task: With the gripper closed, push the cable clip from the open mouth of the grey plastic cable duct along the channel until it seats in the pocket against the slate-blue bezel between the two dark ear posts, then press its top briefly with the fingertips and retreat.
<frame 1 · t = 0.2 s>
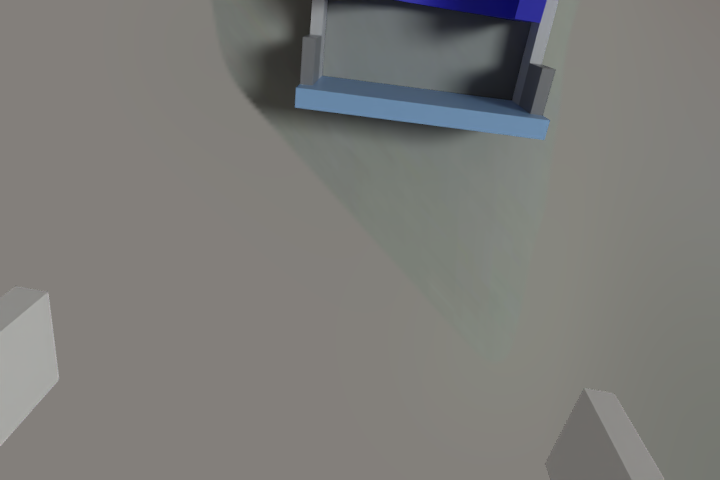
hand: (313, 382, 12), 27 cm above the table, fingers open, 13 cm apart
duct: (427, 24, 33), on the table
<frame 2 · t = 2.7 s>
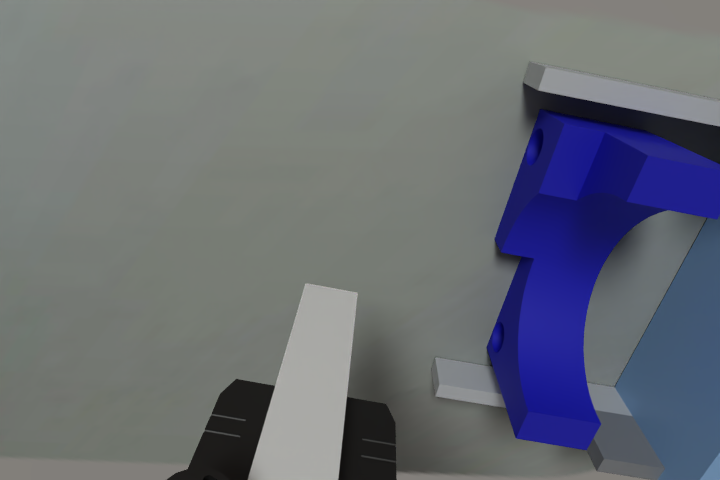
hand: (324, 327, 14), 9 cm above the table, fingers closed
duct: (587, 259, 22), on the table
cable clip: (539, 244, 23), on the table
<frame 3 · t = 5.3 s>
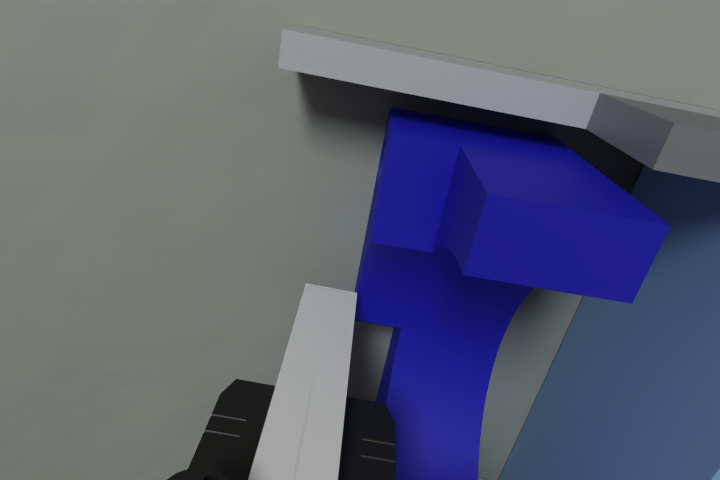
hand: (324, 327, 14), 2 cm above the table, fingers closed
duct: (434, 317, 16), on the table
cable clip: (422, 300, 16), on the table, touching gripper
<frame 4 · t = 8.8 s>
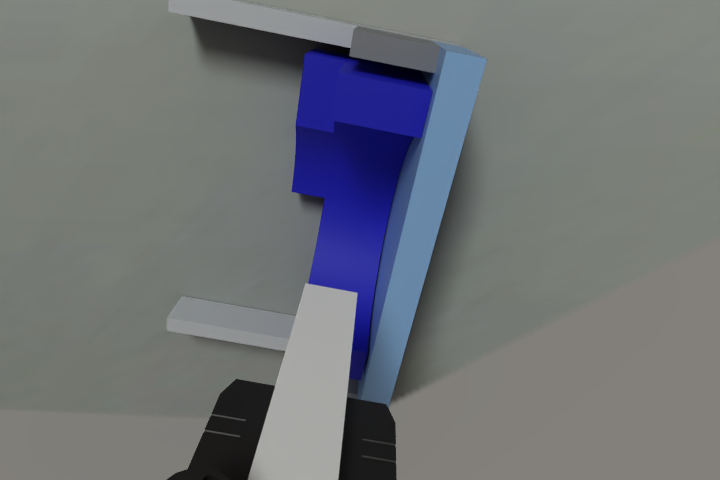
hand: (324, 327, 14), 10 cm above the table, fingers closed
duct: (299, 194, 23), on the table
cable clip: (343, 188, 23), on the table
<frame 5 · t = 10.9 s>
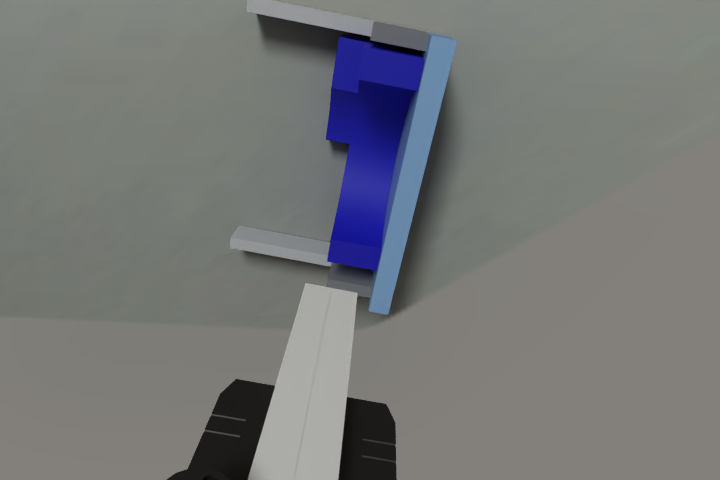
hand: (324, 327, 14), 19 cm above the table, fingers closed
duct: (330, 145, 31), on the table
cable clip: (362, 139, 31), on the table
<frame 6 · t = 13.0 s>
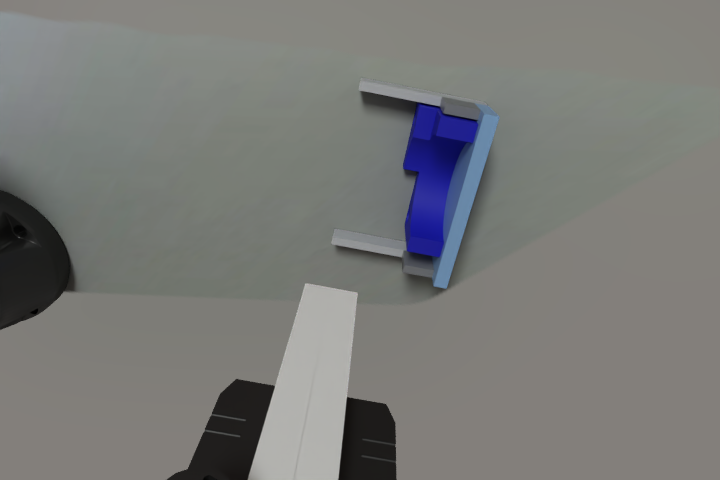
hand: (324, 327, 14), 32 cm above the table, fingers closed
duct: (403, 173, 46), on the table
cable clip: (426, 167, 46), on the table
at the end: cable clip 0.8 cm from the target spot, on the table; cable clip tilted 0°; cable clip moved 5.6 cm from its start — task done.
